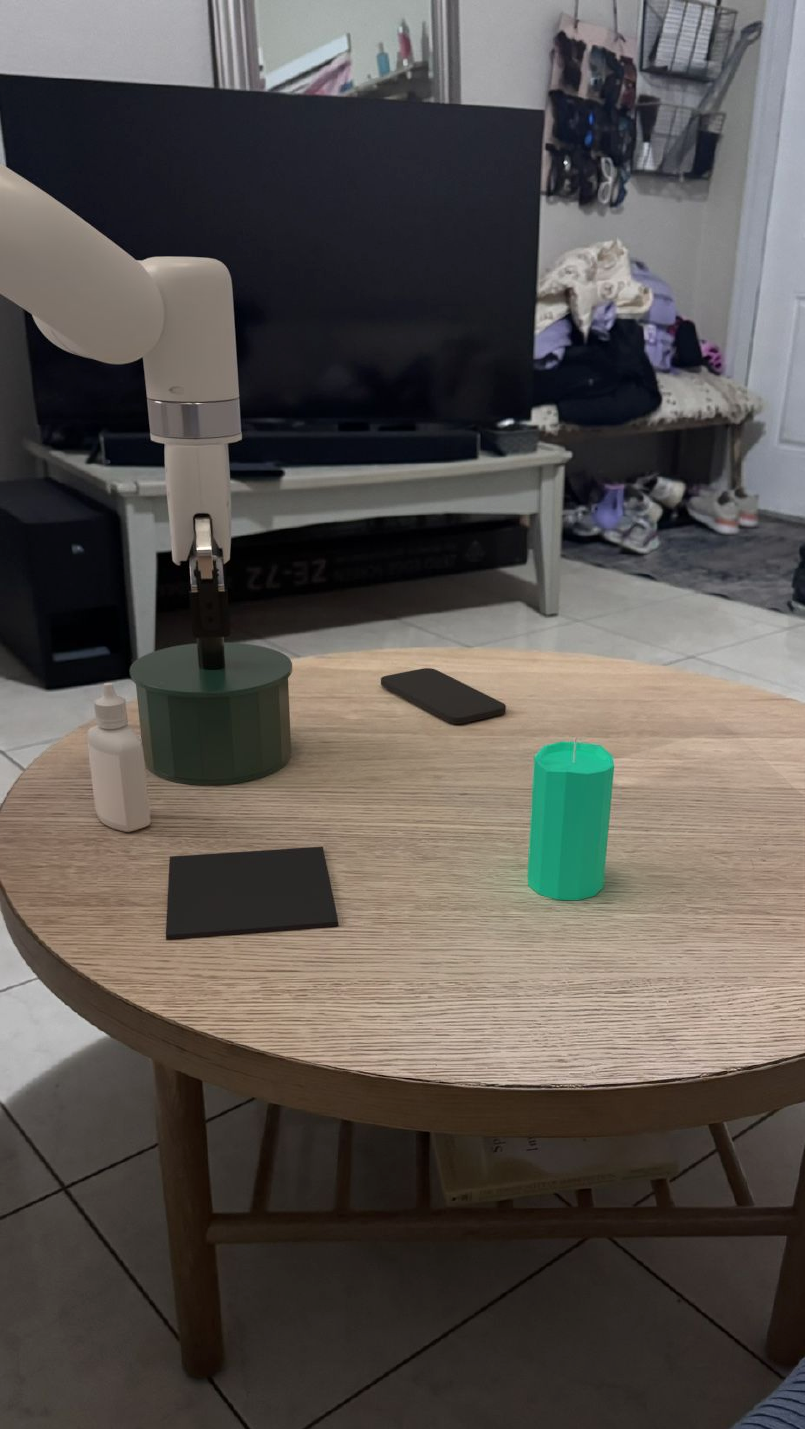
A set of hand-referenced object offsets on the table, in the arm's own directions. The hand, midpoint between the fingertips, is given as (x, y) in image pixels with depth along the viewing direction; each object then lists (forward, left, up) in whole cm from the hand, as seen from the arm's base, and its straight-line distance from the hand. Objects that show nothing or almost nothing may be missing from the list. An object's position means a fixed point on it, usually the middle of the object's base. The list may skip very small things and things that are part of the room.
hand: (211, 620), depth 105 cm
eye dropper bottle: (-8, -13, -13) cm, 20 cm away
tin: (0, 0, -13) cm, 13 cm away
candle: (+26, -29, -13) cm, 41 cm away
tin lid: (0, 0, -5) cm, 5 cm away
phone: (+24, +13, -13) cm, 30 cm away
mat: (+2, -27, -13) cm, 30 cm away
